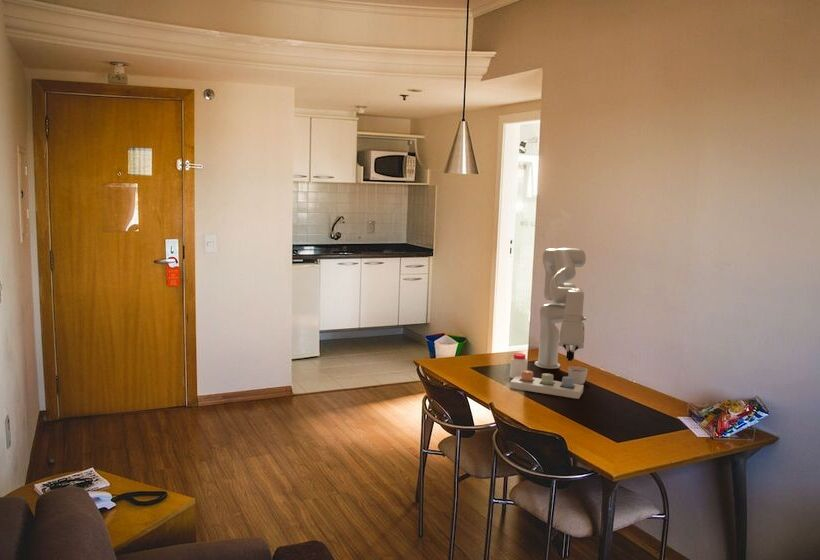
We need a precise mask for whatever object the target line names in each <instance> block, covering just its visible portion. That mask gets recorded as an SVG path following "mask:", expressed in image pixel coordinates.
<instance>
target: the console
mask: <svg viewBox="0 0 820 560" xmlns="http://www.w3.org/2000/svg"><path fill="white" fill-rule="evenodd" d="M521 377H522V376H520V375H517V376H516V377H515V378H514V379H511V381H510V382H509V383H510V384H509V387H510V389H513V390H521V391H527V392H533V393H538V394H539V393H540V394H546V395H551V396H558V397H563V398H564V397H565V398H571V399H577V400H579V399H580V397H582V395H583V393H584V388H585V387H584V384H574V387H573V388H571V389H569V388H563V387H562V381H559V380H553V385H543V384H541V381H542V378H539V377H534V376H533V381H532V382H523V381H521Z"/></svg>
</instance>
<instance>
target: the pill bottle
mask: <svg viewBox="0 0 820 560" xmlns="http://www.w3.org/2000/svg"><path fill="white" fill-rule="evenodd" d="M528 363H529V362H528V359H527V358H526V354H525V353H521V352H520V353H519V352H517V353H513V357H512V358H510V367H509V378H510V379H511V380H513V379H514V378H515V377H516V376H517V375H520V376H522V371H524V370H528Z"/></svg>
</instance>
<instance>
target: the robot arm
mask: <svg viewBox="0 0 820 560" xmlns="http://www.w3.org/2000/svg"><path fill="white" fill-rule="evenodd" d="M586 261H587V257H586V252H585V251H584V250H583V249H582V248H575V247H573V248H572V247H560V248H547V249H545V250H543V254H542V264H543V266H544V272H545V277H544V287H543V288H544V289H543V290H544V291H543V292H544V293H543V295H544V298H545V300H546V301H549V302H552V303H545V304H542V305H541V306H540V308H539V319H540V326H539V327H540V329H539V341H538V355H537V356H538V357H537V360H536V361H534V366H536V367H538V368H541V369H547V370H549V369H550V370H553V369H554V370H555V369H559V368H561V364H560V363H559V362H558V358H559V346H560V347H562V348H563V349H565V351H566V359H567V361H570V362H572V361H573V360H574V359H575V352H576V351H578V349H579V350H580V349H581V350H582V349H584V347H585V345H584V342H585V324H584V323H585V322H583V321H586V320H587V318H586V317H585V316H584V314H583V312H584V301H585V300H584V298H585V292H584V291H583V289H582V288H580V287H577V286H576V285H575V284H574V283H572V282H569V281H571V280H573V279H574V278H575V277H576V274H577V272H576V268H582V267H584V265H585V264H586ZM556 324H561V325H560V329H559V328H558V327H557V326H556ZM570 346H572V347H570Z"/></svg>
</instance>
